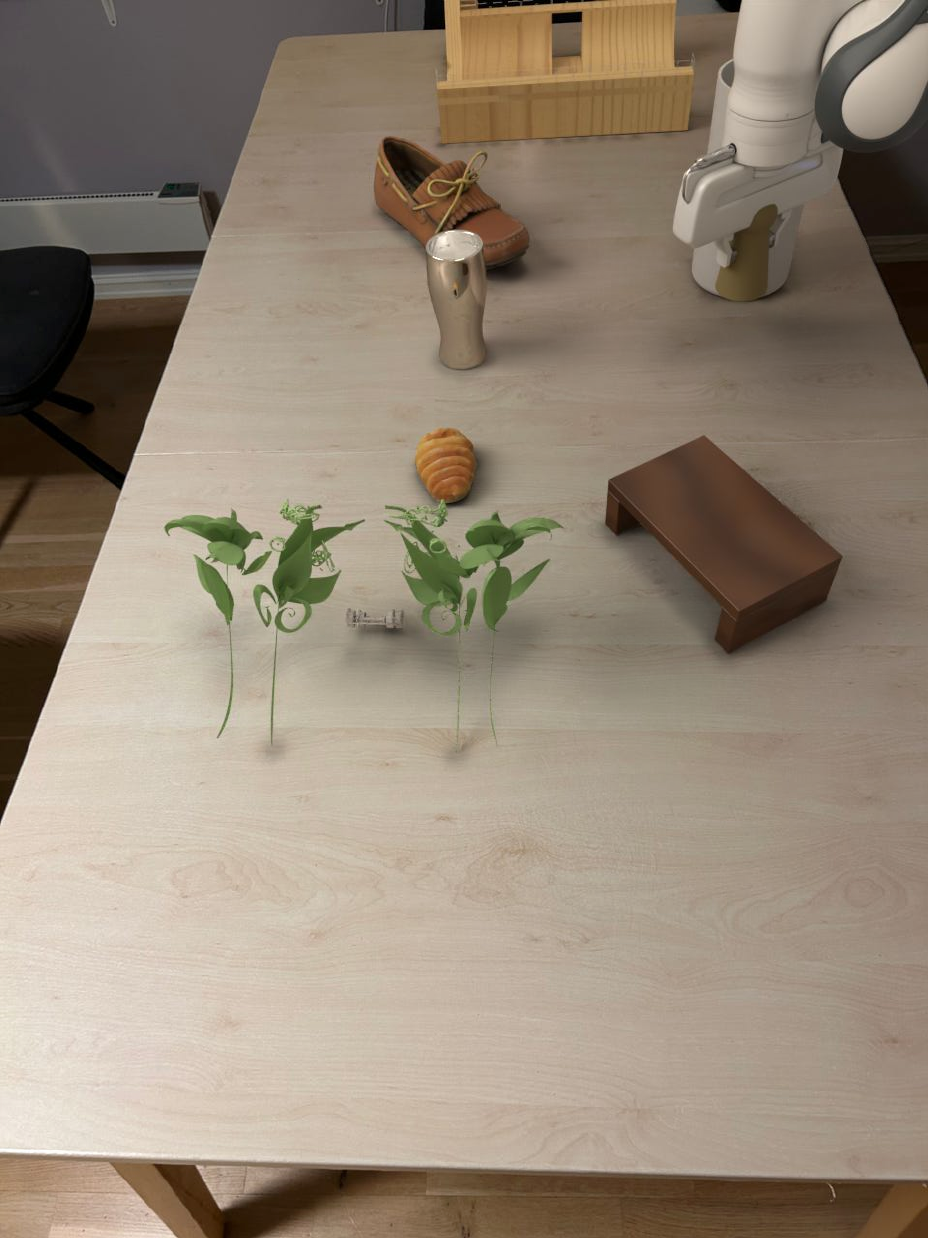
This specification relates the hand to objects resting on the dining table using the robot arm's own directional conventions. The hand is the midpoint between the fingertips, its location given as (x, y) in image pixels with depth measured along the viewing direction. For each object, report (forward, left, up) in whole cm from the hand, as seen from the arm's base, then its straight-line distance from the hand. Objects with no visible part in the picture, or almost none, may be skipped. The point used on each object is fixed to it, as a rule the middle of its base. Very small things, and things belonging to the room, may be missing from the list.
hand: (746, 254), depth 107 cm
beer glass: (+29, -16, -12) cm, 35 cm away
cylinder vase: (-10, -10, -12) cm, 18 cm away
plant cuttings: (+60, +22, -12) cm, 65 cm away
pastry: (+41, +2, -12) cm, 43 cm away
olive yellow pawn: (0, 0, -4) cm, 4 cm away
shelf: (+25, +28, -11) cm, 39 cm away
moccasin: (+17, -41, -12) cm, 46 cm away
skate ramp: (-22, -72, -12) cm, 76 cm away
